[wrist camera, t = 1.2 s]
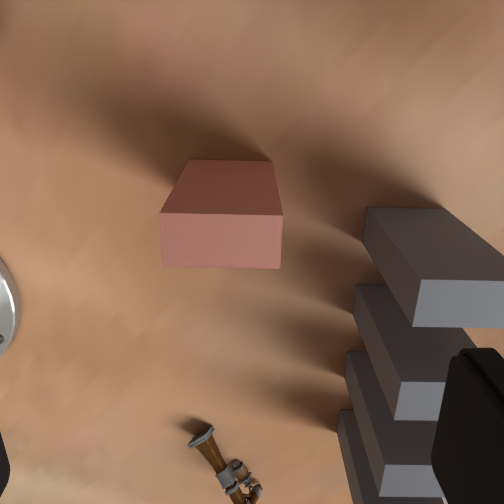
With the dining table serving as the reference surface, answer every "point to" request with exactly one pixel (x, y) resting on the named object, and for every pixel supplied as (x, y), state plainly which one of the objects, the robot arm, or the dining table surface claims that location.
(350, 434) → the domino
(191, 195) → the domino
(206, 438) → the wooden post with brackets
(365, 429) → the domino
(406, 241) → the domino
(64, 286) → the dining table surface
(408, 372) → the domino
